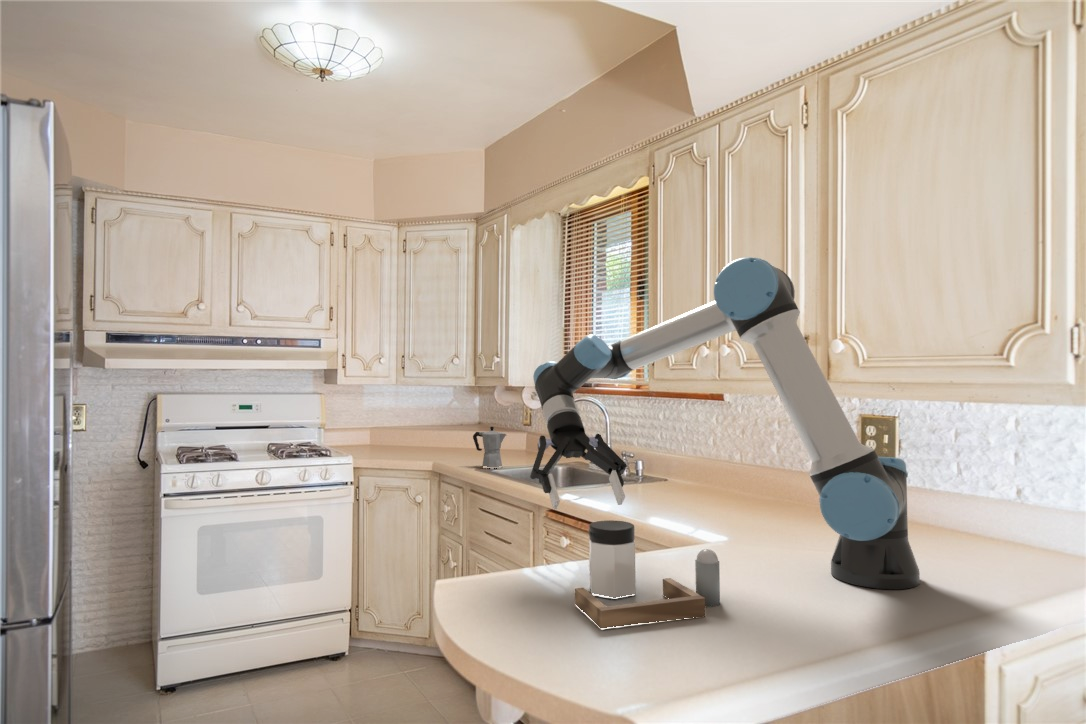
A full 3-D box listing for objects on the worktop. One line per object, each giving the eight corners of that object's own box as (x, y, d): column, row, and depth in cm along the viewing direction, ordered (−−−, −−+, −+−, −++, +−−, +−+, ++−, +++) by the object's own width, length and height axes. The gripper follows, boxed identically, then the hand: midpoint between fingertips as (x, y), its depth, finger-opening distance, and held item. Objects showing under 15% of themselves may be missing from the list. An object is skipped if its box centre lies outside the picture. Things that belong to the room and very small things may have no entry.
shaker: (724, 602, 114) (723, 549, 114) (711, 608, 111) (710, 553, 112) (704, 597, 117) (703, 545, 117) (691, 602, 114) (690, 549, 114)
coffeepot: (510, 467, 294) (509, 425, 294) (503, 469, 285) (502, 427, 285) (477, 466, 298) (476, 425, 298) (469, 468, 289) (469, 427, 289)
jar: (587, 584, 125) (587, 519, 125) (631, 584, 125) (631, 519, 125) (590, 600, 116) (590, 530, 116) (638, 600, 116) (637, 530, 116)
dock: (574, 606, 113) (574, 588, 113) (670, 595, 118) (670, 577, 118) (601, 630, 102) (601, 610, 102) (705, 616, 107) (705, 598, 107)
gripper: (611, 430, 151) (642, 509, 136) (504, 434, 144) (524, 518, 129) (621, 408, 146) (653, 487, 131) (510, 410, 139) (531, 495, 124)
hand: (589, 503), depth 130 cm, fingers open, 13 cm apart
